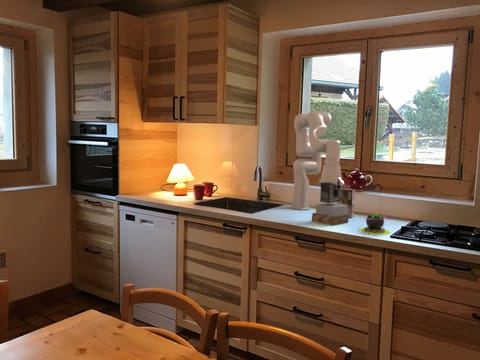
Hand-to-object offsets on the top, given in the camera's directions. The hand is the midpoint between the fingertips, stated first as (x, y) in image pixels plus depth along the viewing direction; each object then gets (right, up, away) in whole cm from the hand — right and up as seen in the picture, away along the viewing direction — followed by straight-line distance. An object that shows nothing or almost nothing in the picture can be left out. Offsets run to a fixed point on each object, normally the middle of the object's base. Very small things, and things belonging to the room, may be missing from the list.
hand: (330, 195), depth 240 cm
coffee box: (+13, -13, +19) cm, 27 cm away
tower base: (0, -15, +1) cm, 15 cm away
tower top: (+1, -10, +1) cm, 10 cm away
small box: (0, -3, 0) cm, 3 cm away
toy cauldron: (+18, -17, -19) cm, 31 cm away
